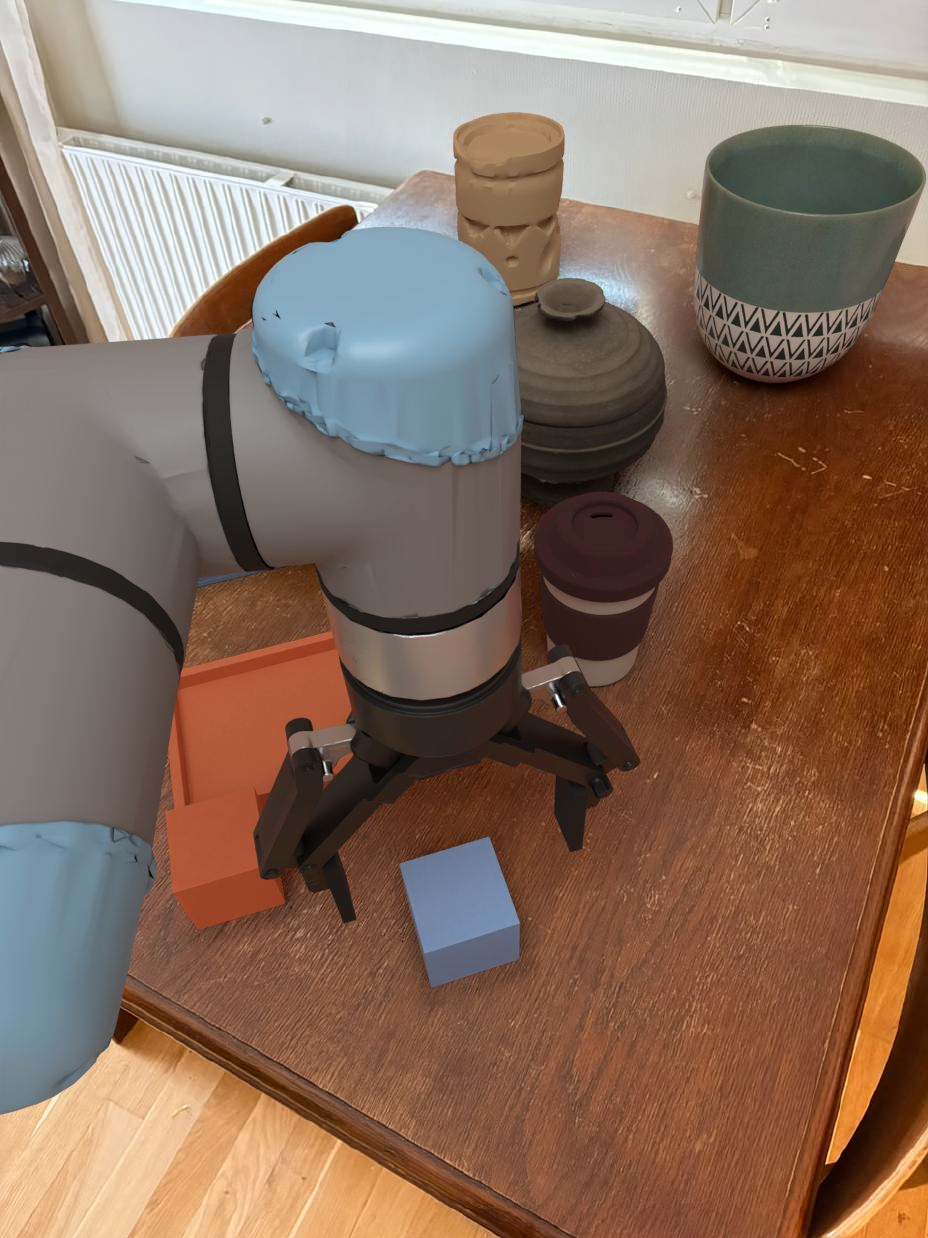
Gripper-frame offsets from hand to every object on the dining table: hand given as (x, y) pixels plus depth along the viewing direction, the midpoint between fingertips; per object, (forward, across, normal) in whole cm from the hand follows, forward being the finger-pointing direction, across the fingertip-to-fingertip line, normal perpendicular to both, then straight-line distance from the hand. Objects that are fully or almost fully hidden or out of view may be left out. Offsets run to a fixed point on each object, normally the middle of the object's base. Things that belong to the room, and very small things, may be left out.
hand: (458, 865), depth 52 cm
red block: (+10, +14, -9) cm, 19 cm away
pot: (+10, -23, -41) cm, 48 cm away
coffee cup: (+10, -17, -19) cm, 27 cm away
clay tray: (+10, +9, -20) cm, 24 cm away
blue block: (+10, 0, 0) cm, 10 cm away
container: (+10, -30, -78) cm, 84 cm away
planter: (+10, -51, -51) cm, 73 cm away
